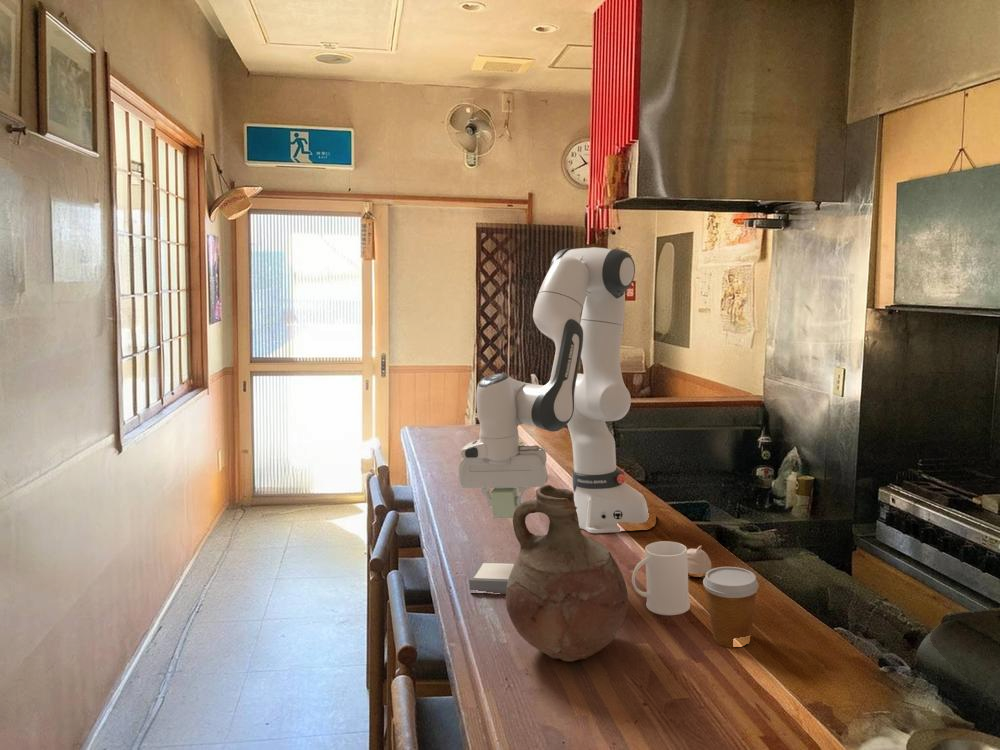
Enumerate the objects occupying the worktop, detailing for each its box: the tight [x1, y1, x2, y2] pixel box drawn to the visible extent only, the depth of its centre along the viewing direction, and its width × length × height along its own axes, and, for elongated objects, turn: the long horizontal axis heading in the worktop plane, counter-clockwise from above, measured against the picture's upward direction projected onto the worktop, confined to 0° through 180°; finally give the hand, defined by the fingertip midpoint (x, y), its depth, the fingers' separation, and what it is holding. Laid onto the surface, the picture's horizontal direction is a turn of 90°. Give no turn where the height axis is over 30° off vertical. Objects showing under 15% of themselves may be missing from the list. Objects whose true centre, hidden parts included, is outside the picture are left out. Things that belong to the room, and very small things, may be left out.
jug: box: [505, 484, 629, 662], centre depth 138 cm, size 22×22×30 cm
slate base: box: [468, 561, 515, 594], centre depth 171 cm, size 10×10×3 cm
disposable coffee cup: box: [702, 566, 760, 649], centre depth 139 cm, size 10×10×12 cm
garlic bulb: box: [687, 545, 712, 575], centre depth 168 cm, size 7×6×8 cm
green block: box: [490, 487, 519, 519], centre depth 179 cm, size 5×5×6 cm
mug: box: [631, 540, 691, 616], centre depth 154 cm, size 12×8×12 cm
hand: (505, 505), depth 179 cm, fingers closed on green block, 5 cm apart
